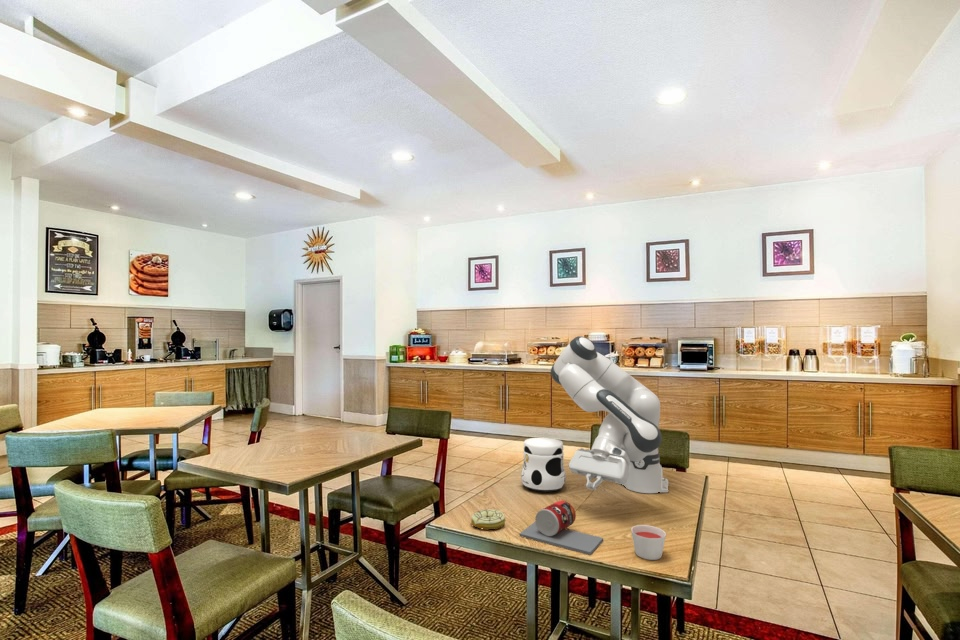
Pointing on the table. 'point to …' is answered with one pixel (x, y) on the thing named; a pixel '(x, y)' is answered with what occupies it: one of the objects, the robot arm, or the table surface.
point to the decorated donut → (488, 519)
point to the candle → (648, 541)
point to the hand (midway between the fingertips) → (590, 488)
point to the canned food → (555, 518)
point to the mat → (565, 539)
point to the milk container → (543, 464)
